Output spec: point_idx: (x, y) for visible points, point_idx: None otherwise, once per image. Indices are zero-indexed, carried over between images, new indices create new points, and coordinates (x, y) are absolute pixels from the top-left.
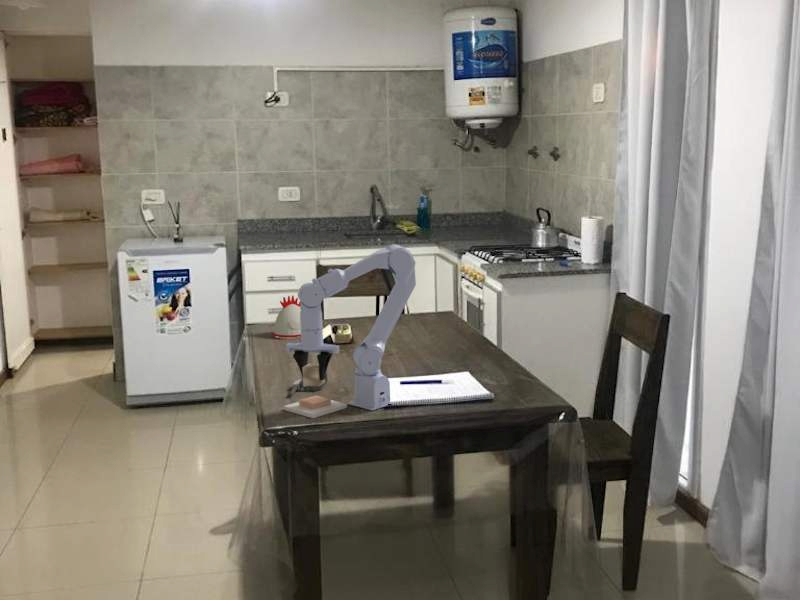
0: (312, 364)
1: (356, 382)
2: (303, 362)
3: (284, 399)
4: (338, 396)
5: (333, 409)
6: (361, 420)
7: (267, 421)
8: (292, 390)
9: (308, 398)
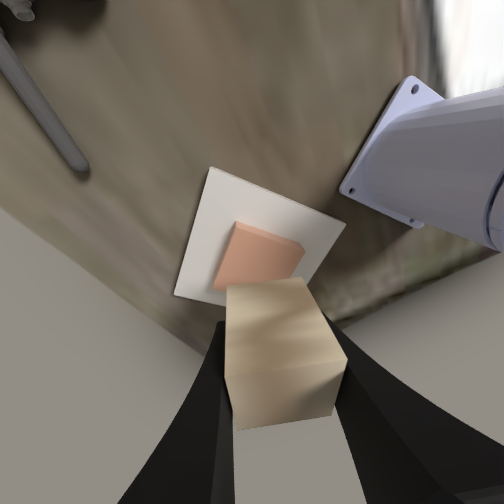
0: (265, 384)
1: (445, 228)
2: (230, 452)
3: (88, 196)
4: (267, 79)
5: (316, 267)
6: (390, 292)
7: (199, 352)
8: (44, 122)
9: (230, 266)
